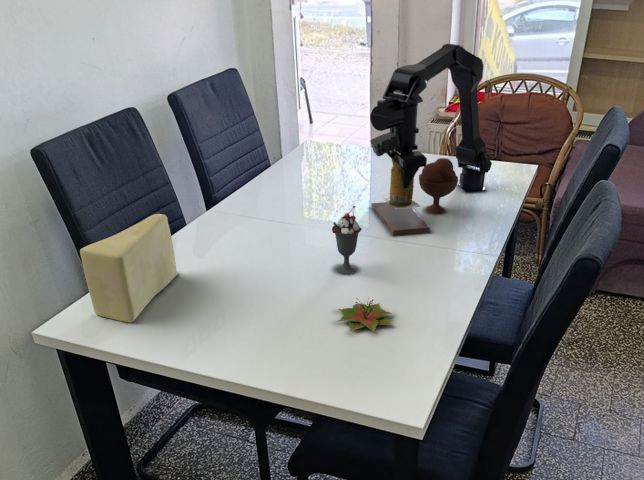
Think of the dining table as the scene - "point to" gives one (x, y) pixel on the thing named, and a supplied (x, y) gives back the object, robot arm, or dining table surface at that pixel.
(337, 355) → the dining table surface
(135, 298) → the cheese
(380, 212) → the walnut board
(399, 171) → the condiment
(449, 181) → the ice cream bowl
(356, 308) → the lily flower
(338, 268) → the sundae
